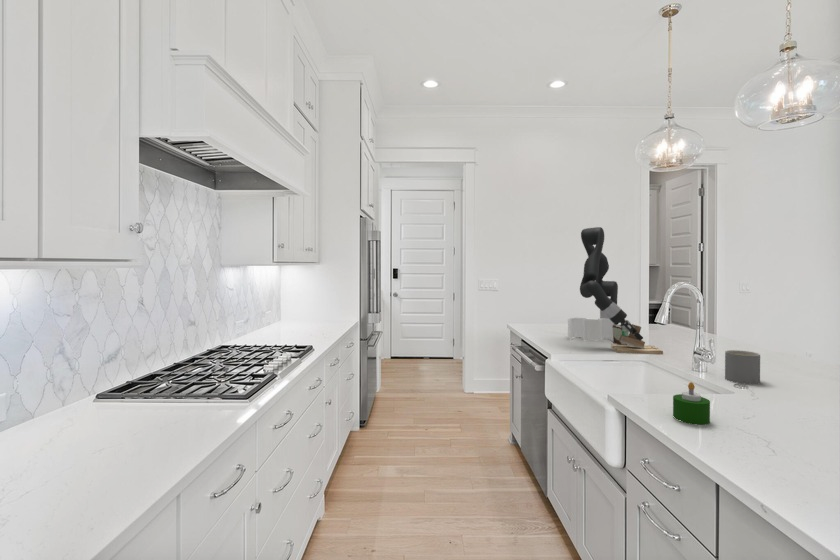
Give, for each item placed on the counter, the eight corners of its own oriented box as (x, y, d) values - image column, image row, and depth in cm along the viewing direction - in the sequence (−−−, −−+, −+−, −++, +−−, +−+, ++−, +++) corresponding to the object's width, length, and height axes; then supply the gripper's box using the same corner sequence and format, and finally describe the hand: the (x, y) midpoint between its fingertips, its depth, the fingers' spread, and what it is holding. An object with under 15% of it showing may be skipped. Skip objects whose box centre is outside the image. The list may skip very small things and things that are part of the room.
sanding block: (618, 340, 209) (624, 321, 208) (639, 346, 207) (645, 327, 206) (621, 342, 203) (627, 323, 202) (643, 349, 201) (649, 329, 200)
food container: (634, 346, 216) (634, 327, 216) (622, 346, 217) (622, 327, 216) (623, 342, 229) (623, 324, 229) (612, 342, 229) (612, 324, 229)
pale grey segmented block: (613, 339, 239) (613, 318, 239) (615, 342, 230) (615, 320, 230) (567, 337, 247) (567, 317, 247) (568, 340, 238) (568, 319, 237)
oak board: (611, 347, 214) (611, 344, 214) (654, 348, 209) (654, 345, 209) (617, 352, 200) (617, 349, 200) (663, 354, 195) (663, 351, 195)
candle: (675, 411, 117) (675, 376, 117) (711, 418, 112) (711, 381, 112) (670, 420, 111) (670, 382, 110) (708, 427, 105) (708, 388, 105)
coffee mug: (763, 385, 142) (763, 356, 142) (727, 382, 147) (727, 354, 147) (754, 376, 154) (754, 349, 154) (721, 373, 159) (721, 347, 159)
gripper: (623, 309, 199) (650, 335, 196) (617, 306, 213) (643, 331, 210) (610, 319, 201) (638, 346, 198) (605, 316, 214) (631, 341, 211)
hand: (640, 338), depth 204 cm, fingers closed on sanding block, 3 cm apart
